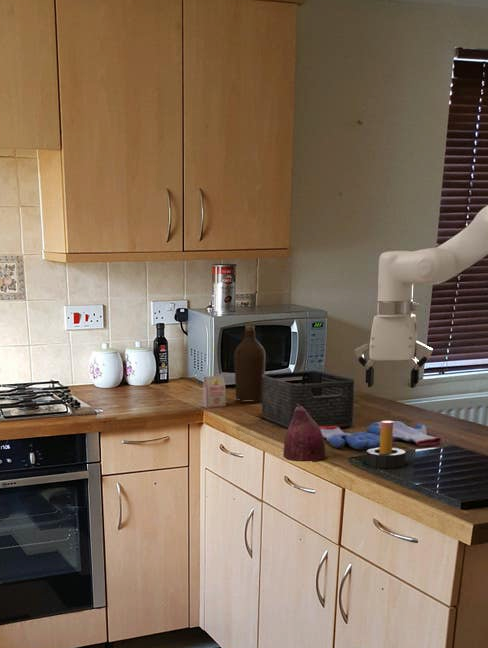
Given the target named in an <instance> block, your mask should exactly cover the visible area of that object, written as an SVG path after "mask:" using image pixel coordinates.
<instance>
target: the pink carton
mask: <svg viewBox="0 0 488 648" xmlns="http://www.w3.org/2000/svg"><path fill="white" fill-rule="evenodd" d="M226 391H227V389H226V383H225V376H224V375H210V376H203V384H202V407H203V408H205V409H212V408H225V407H227V405H226V404H227V400H226V398H227V397H226V396H227V393H226ZM203 403H204V404H203ZM222 403H226V404H222ZM205 404H206V405H205ZM209 404H214V405H209Z"/></svg>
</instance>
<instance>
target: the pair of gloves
mask: <svg viewBox="0 0 488 648" xmlns="http://www.w3.org/2000/svg"><path fill="white" fill-rule="evenodd" d="M383 421H389V420H388V419H384V420H383ZM392 421H393V420H392ZM319 428H320V430H321V432H322V435H323V438H325V439H326V441H327V442H328V443H329V444H330V445H331V446H332V447H334V448H335V449H341V448H343V447H344V446H345V445H346V443H347V444H348V446H350V448H351V449H354V450H358V451H363V450H368V449H372V448H380V432H381V421H375V422H373V423H371V424H370V426H367V428H366V429H365V431H366V432H363V431H361V432H355V433H349V432H344V431H343V430H342V429H341V427H337V426H332V427H322V426H321V427H319ZM427 433H428V432H427V426H426V425H425V424H423V423H417V424H415V425H414V426H413V427H410V426H408V425H406V424H405V423H404V422H402V421H396V420H395V421H393V437H392V444H393V443H394V441H399V440H400V441H405V442H407V443H415V444H416V445H417V446H418V447H428V446H436V445H440V444H441V442H442V438H441V437H440V436H436V437H435V436H432V435H428V434H427Z"/></svg>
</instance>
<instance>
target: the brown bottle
mask: <svg viewBox="0 0 488 648" xmlns="http://www.w3.org/2000/svg"><path fill="white" fill-rule="evenodd" d="M255 328H256V326H255V325H245V326H244V329H245V330H244V338H243V339H242V341H241V342H240V343H239V344H238V345H237V346H236V348H235V351H234V354H233V363H234V378H235V379H234V381H235V383H234V384H235V401H236V403H238V404H239V403H240V404H259V403H262V375H263V374H266V361H267V359H266V358H267V354H266V350H265V348H264V346H263V345H262V344H261V343H260V342H259V341H258V340H257V338H256V330H255ZM236 398H237V399H240V400H237V399H236ZM260 399H261V400H260ZM243 400H254V401H243Z"/></svg>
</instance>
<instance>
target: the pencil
mask: <svg viewBox="0 0 488 648" xmlns="http://www.w3.org/2000/svg"><path fill="white" fill-rule="evenodd" d="M380 422H381V432H380V447H379V448H380V451H379V453H381V454H392V448H393V443H392V437H393V420H388V421H384V420H380Z"/></svg>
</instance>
